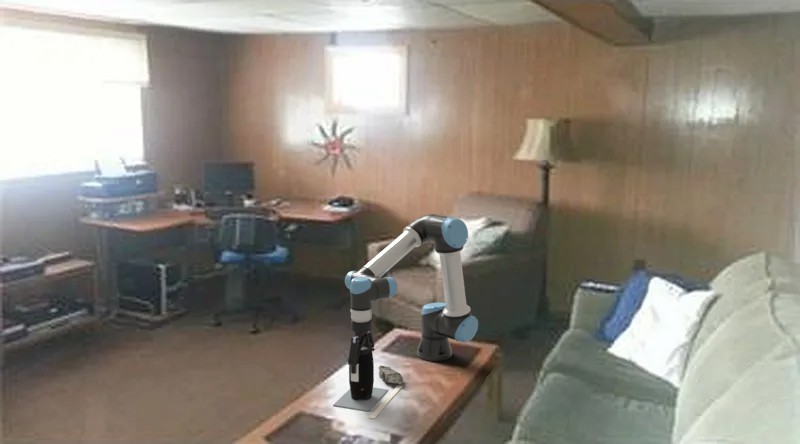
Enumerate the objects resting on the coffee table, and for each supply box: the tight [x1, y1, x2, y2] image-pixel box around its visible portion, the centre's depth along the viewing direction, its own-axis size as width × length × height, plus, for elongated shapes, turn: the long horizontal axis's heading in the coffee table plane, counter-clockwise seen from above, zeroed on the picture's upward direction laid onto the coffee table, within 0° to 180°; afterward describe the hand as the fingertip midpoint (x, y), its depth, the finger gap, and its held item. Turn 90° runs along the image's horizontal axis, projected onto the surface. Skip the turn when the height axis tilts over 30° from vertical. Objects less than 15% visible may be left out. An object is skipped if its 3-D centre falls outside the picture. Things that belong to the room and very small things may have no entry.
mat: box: [332, 386, 389, 412], centre depth 262 cm, size 20×14×1 cm
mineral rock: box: [378, 365, 404, 385], centre depth 278 cm, size 15×8×4 cm, turn 15°
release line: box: [368, 385, 403, 420], centre depth 259 cm, size 30×2×1 cm, turn 161°
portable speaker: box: [348, 344, 375, 400], centre depth 261 cm, size 9×9×20 cm
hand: (361, 374), depth 261 cm, fingers open, 13 cm apart
